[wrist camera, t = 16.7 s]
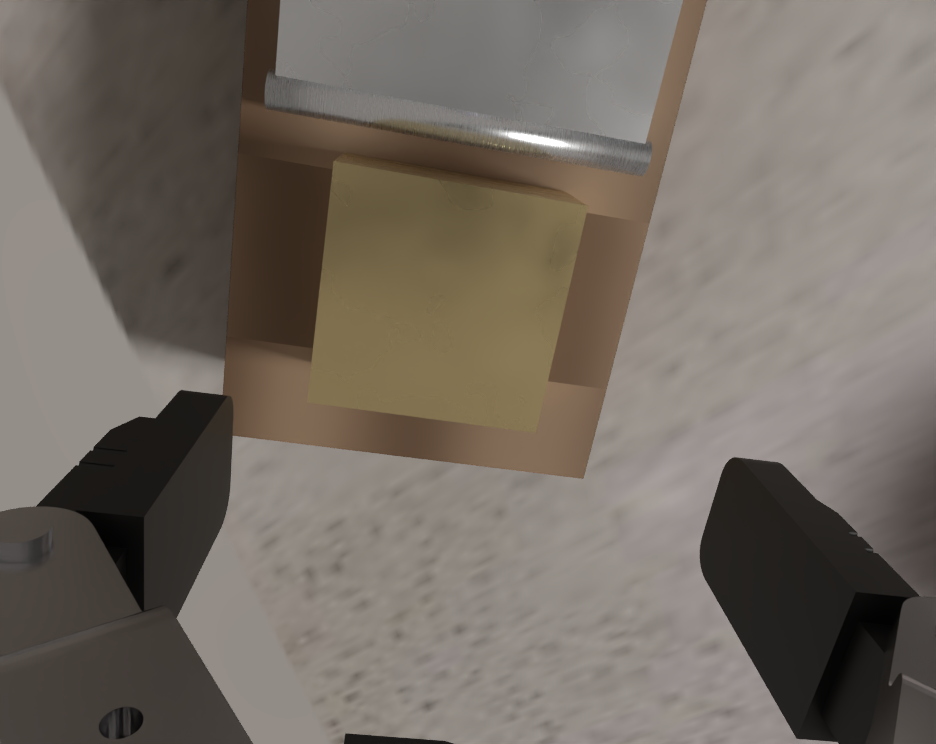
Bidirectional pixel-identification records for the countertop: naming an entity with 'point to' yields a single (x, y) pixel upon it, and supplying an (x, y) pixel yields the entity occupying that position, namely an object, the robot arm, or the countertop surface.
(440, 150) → the block
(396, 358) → the brass pin
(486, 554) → the countertop surface
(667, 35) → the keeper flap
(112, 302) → the countertop surface
